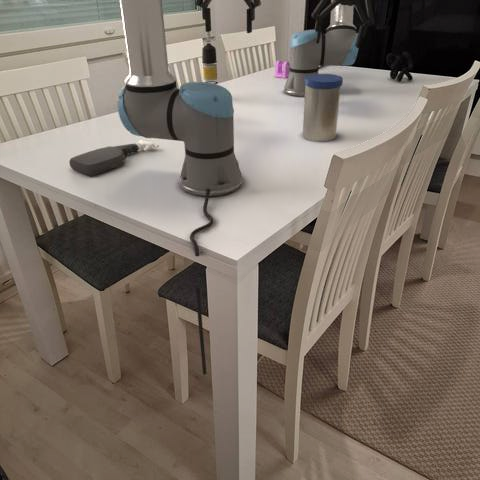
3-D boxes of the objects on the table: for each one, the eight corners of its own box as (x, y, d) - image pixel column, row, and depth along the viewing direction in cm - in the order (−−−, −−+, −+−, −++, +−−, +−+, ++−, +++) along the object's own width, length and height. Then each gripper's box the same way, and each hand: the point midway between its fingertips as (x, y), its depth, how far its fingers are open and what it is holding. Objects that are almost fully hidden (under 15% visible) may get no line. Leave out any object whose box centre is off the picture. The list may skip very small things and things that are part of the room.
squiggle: (400, 92, 202) (376, 71, 205) (417, 76, 202) (392, 56, 205) (405, 81, 191) (380, 59, 194) (423, 64, 191) (397, 42, 194)
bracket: (285, 77, 208) (285, 62, 204) (275, 76, 211) (275, 60, 207) (299, 72, 216) (300, 57, 213) (289, 71, 219) (290, 56, 216)
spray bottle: (67, 168, 120) (139, 144, 136) (91, 178, 114) (163, 151, 130) (65, 157, 118) (137, 134, 134) (89, 167, 112) (162, 142, 128)
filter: (220, 99, 177) (217, 15, 161) (206, 100, 176) (202, 16, 160) (215, 96, 182) (212, 14, 166) (202, 97, 180) (197, 14, 164)
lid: (296, 84, 131) (297, 77, 130) (320, 78, 137) (321, 72, 136) (325, 90, 124) (326, 83, 123) (349, 84, 130) (350, 77, 129)
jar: (295, 135, 140) (298, 79, 131) (317, 128, 145) (321, 74, 136) (320, 143, 133) (325, 85, 124) (342, 136, 139) (348, 79, 130)
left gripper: (272, -51, 127) (270, 31, 138) (192, -49, 134) (197, 29, 145) (264, -51, 121) (263, 34, 132) (181, -49, 128) (187, 32, 139)
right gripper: (315, -33, 131) (301, 43, 144) (397, -22, 133) (376, 51, 146) (311, -36, 137) (298, 37, 150) (390, -26, 139) (370, 45, 152)
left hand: (228, 32), depth 139 cm, fingers open, 13 cm apart
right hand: (337, 44), depth 148 cm, fingers open, 13 cm apart
